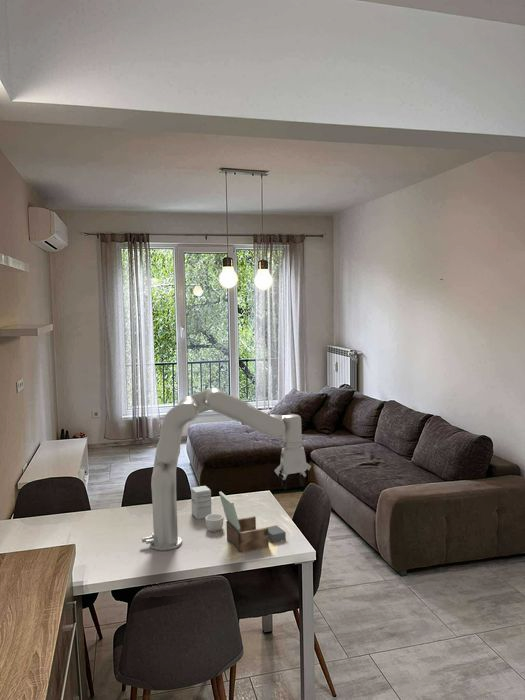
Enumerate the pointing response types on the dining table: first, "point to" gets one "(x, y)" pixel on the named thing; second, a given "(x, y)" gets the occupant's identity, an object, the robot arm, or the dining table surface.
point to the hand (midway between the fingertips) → (293, 486)
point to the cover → (230, 511)
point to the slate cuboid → (276, 534)
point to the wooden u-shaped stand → (247, 535)
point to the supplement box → (201, 502)
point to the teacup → (214, 522)
